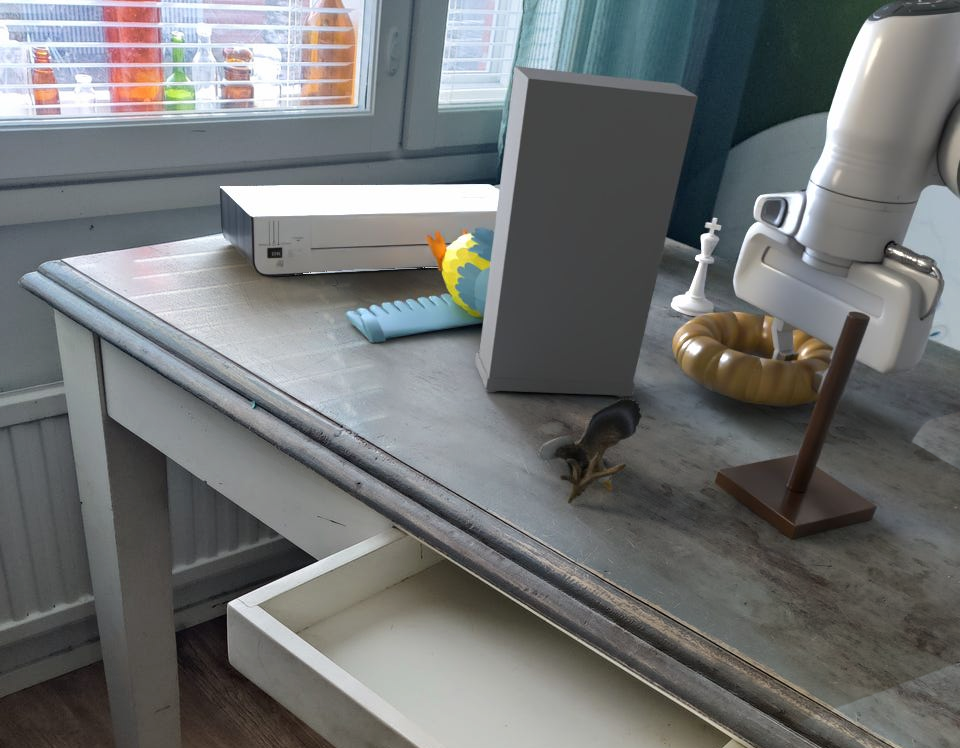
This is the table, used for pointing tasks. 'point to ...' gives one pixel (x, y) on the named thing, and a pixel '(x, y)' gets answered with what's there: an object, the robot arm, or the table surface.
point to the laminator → (350, 224)
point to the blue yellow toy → (466, 305)
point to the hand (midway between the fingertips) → (800, 380)
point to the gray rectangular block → (580, 229)
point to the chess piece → (699, 278)
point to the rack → (807, 462)
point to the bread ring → (748, 359)
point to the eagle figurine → (594, 446)
